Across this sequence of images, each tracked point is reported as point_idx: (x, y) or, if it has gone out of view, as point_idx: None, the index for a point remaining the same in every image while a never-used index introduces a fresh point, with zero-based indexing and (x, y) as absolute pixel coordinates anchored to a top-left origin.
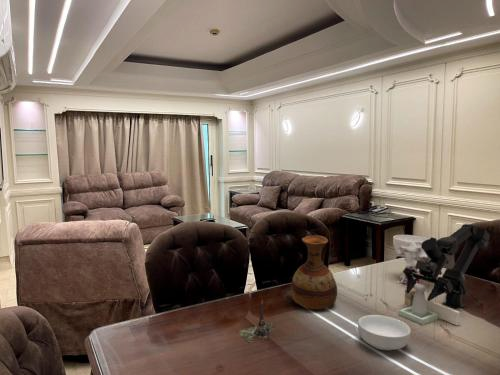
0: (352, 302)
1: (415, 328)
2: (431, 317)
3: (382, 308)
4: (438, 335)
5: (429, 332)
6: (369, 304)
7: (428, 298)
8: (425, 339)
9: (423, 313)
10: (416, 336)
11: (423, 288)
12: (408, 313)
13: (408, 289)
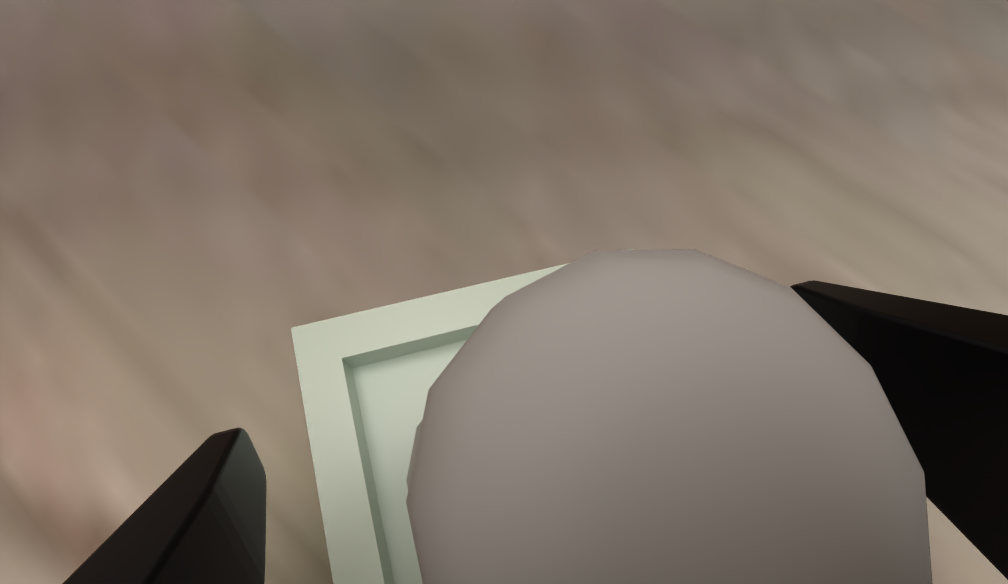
0: (968, 53)
1: (282, 219)
2: (327, 538)
3: (810, 230)
4: (42, 332)
5: (144, 291)
6: (920, 170)
7: (205, 448)
8: (54, 140)
9: (411, 458)
10: (144, 107)
11: (421, 457)
12: (511, 290)
13: (852, 325)
